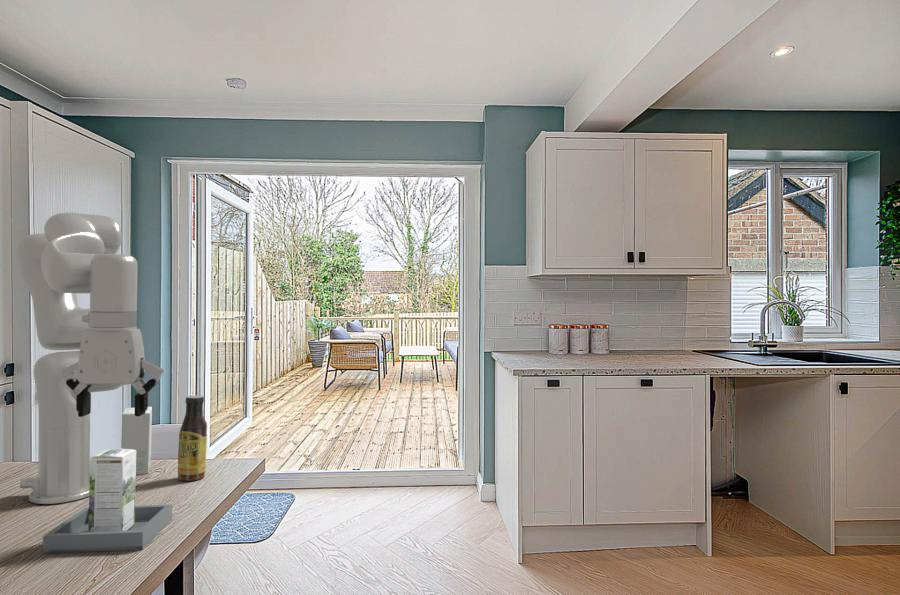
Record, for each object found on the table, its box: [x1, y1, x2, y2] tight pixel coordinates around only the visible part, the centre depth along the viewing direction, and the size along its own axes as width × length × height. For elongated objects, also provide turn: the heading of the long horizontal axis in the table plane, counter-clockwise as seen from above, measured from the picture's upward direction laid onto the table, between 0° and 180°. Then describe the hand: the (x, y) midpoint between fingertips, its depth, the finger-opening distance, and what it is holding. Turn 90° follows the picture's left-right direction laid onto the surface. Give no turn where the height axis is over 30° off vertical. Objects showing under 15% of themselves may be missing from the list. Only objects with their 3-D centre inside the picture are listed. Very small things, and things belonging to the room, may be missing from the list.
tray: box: [42, 504, 173, 555], centre depth 107 cm, size 16×14×3 cm
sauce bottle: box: [177, 394, 208, 482], centre depth 142 cm, size 6×6×20 cm
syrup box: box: [88, 448, 137, 532], centre depth 107 cm, size 6×6×14 cm
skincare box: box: [120, 406, 153, 476], centre depth 148 cm, size 8×7×16 cm
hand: (112, 415), depth 107 cm, fingers open, 9 cm apart
